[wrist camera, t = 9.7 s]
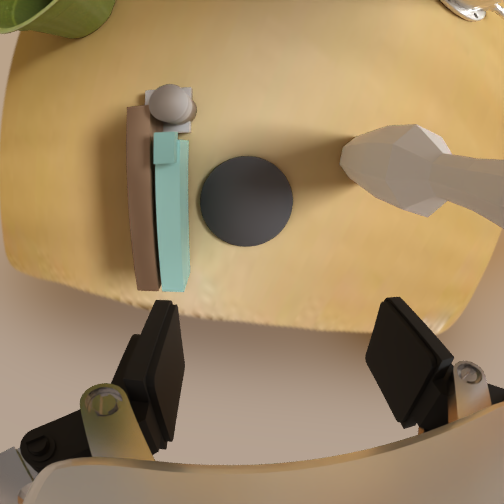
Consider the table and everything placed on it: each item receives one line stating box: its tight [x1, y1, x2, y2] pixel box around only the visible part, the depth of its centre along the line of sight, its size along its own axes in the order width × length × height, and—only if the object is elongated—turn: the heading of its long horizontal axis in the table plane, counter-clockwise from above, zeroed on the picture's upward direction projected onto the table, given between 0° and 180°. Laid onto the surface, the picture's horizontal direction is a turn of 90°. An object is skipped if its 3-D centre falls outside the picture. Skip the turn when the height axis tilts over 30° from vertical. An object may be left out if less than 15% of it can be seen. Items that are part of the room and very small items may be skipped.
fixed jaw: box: [126, 84, 197, 291], centre depth 24 cm, size 5×18×6 cm, turn 178°
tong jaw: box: [154, 132, 190, 292], centre depth 24 cm, size 2×14×6 cm, turn 178°
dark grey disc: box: [200, 156, 293, 247], centre depth 28 cm, size 9×9×1 cm
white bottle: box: [339, 124, 504, 229], centre depth 17 cm, size 6×6×22 cm
